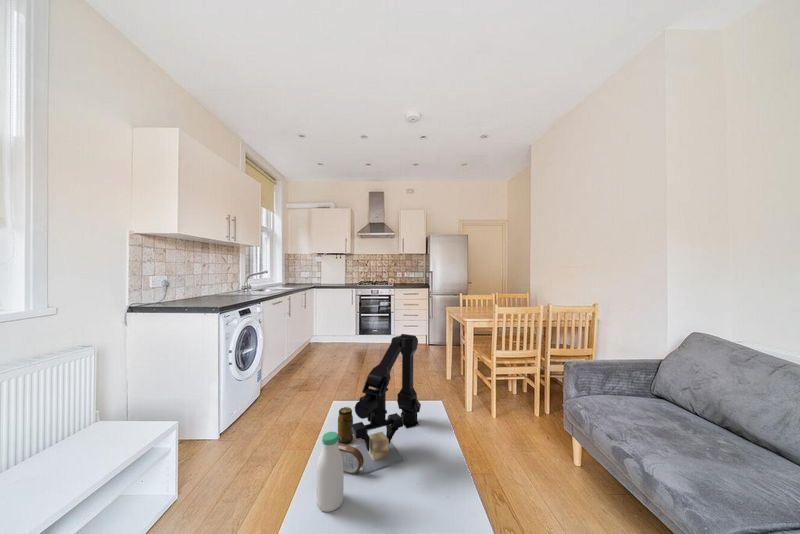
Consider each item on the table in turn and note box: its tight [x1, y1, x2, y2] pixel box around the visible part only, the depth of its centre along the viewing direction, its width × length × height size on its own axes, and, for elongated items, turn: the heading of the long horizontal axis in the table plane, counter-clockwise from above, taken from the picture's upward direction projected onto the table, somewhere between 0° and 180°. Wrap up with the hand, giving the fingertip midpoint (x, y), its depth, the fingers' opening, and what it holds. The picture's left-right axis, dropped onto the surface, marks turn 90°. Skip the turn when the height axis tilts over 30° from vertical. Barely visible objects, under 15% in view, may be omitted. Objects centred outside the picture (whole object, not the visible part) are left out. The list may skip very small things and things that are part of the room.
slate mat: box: [354, 440, 406, 475], centre depth 110 cm, size 15×15×1 cm
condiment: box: [337, 406, 360, 446], centre depth 119 cm, size 7×8×12 cm
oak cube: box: [368, 431, 389, 461], centre depth 110 cm, size 6×6×6 cm
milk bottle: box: [316, 431, 344, 513], centre depth 88 cm, size 8×8×20 cm
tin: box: [337, 443, 364, 475], centre depth 102 cm, size 15×3×8 cm, turn 71°
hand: (377, 447), depth 110 cm, fingers open, 7 cm apart
